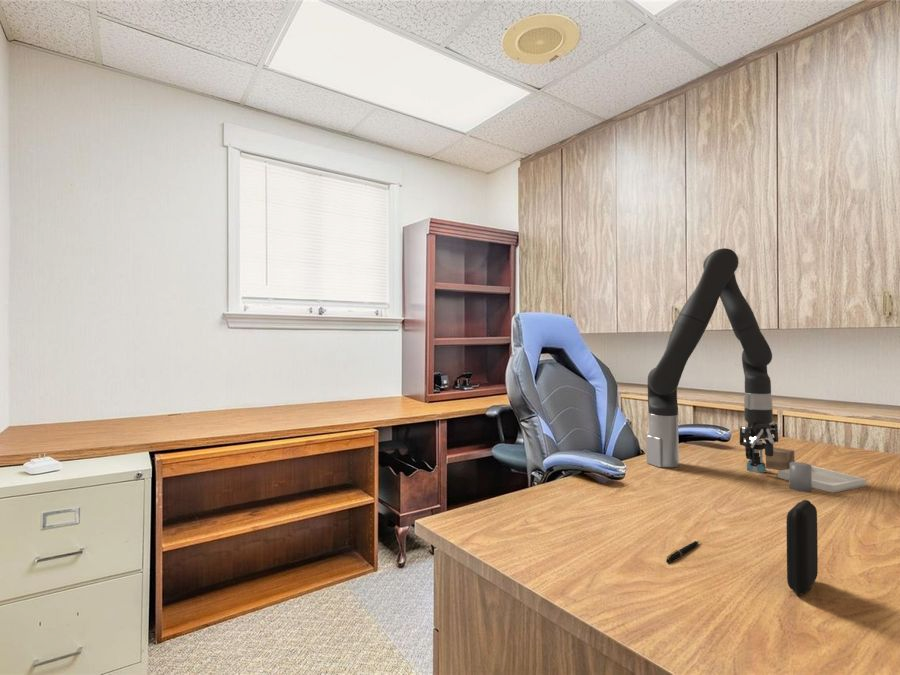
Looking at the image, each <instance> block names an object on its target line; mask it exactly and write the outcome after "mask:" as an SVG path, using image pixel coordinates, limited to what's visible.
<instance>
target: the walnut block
mask: <svg viewBox="0 0 900 675" xmlns="http://www.w3.org/2000/svg"><path fill="white" fill-rule="evenodd" d="M790 462H796V460H795V450H794V449H788V448H781V447H776V446H773V456H766V455H765V467H767V468H771V469H770V470H775V471H780V470H786V469H789V463H790Z"/></svg>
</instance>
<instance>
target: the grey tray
mask: <svg viewBox="0 0 900 675" xmlns="http://www.w3.org/2000/svg"><path fill="white" fill-rule="evenodd" d="M811 467H812V488H814V489H818V490H821V491H824V492H828V493H832V494H834V493H838V492H843V491H849V490H854V489H859V488H860V489H861V488H864V487H867V486H868V484H867V483H868V478H863V477H860V476H855V475H852V474H847V473H844V472H839V471H835V470H831V469H827V468H822V467H819V466H814V465H811ZM777 478H779V479H782V480H785V481H789V482H790V470H789V469H786V470H777Z"/></svg>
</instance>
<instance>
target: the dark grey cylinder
mask: <svg viewBox="0 0 900 675" xmlns="http://www.w3.org/2000/svg"><path fill="white" fill-rule="evenodd" d="M811 466H812V465H811V464H809V463H806V462H802V461H801V462H800V461H795V462H790V463H789V470H790V481H789V489H791V490H793V491H797V492H800V493H801V492H803V493H809V492H812V491H813V489H812V488H813V487H812V467H811Z"/></svg>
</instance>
